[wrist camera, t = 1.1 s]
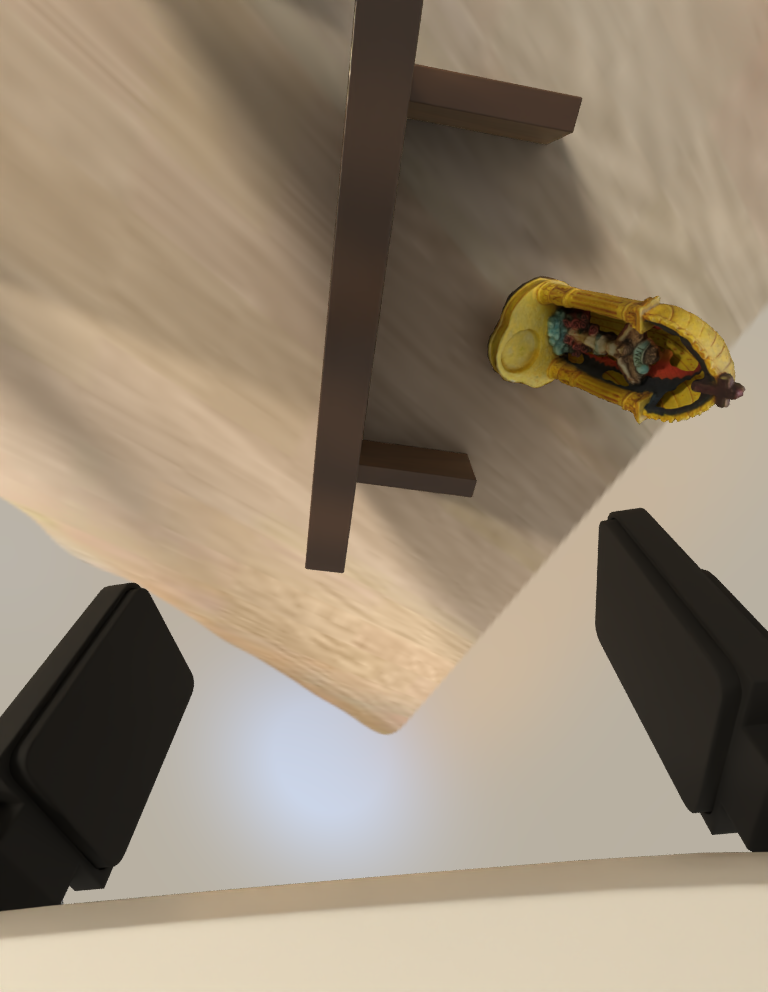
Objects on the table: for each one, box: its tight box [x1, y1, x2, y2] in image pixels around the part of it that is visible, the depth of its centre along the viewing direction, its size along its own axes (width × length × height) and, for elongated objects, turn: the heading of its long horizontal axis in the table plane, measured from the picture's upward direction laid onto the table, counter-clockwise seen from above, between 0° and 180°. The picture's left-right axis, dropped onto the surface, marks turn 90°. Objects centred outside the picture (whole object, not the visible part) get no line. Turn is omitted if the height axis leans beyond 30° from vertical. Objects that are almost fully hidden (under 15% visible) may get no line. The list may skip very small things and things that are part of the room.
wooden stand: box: [305, 0, 582, 573], centre depth 30 cm, size 28×12×15 cm, turn 171°
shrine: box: [488, 276, 745, 424], centre depth 31 cm, size 12×8×15 cm
